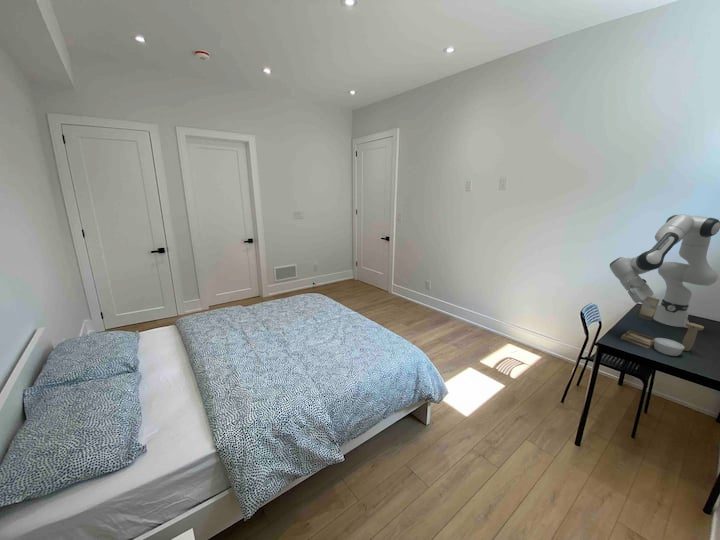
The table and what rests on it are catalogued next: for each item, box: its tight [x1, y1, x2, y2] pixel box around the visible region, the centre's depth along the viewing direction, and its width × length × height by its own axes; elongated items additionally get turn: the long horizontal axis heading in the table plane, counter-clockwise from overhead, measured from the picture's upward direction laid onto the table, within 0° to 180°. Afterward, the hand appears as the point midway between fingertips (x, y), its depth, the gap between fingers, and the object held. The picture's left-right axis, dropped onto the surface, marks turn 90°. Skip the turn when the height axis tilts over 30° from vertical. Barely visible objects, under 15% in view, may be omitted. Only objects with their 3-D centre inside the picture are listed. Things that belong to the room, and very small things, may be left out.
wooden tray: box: [620, 330, 655, 349], centre depth 167 cm, size 13×12×2 cm
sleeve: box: [638, 295, 661, 321], centre depth 161 cm, size 5×5×12 cm
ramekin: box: [653, 337, 685, 357], centre depth 156 cm, size 11×11×5 cm
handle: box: [681, 322, 705, 352], centre depth 157 cm, size 5×6×15 cm
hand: (651, 306), depth 161 cm, fingers closed on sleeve, 5 cm apart
